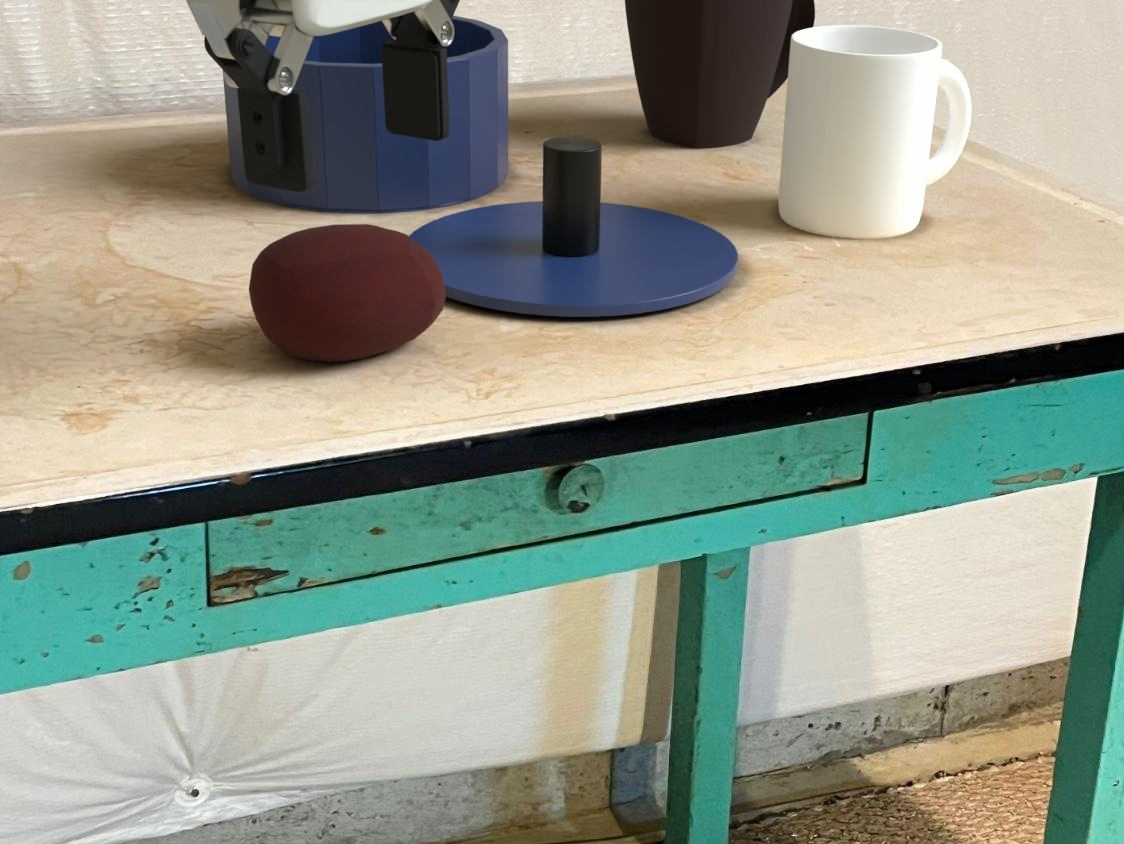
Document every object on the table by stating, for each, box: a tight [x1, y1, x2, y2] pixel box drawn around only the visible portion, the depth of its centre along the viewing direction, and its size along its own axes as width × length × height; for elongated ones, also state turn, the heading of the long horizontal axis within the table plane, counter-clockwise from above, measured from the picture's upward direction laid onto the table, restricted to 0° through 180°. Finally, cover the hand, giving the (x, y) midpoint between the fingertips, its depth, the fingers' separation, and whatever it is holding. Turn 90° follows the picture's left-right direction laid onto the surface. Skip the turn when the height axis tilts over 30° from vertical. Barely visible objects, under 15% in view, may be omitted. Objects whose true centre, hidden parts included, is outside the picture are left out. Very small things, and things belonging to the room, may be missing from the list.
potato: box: [248, 223, 447, 363], centre depth 77 cm, size 8×9×6 cm
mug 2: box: [778, 24, 972, 240], centre depth 97 cm, size 12×8×10 cm
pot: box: [222, 15, 509, 215], centre depth 102 cm, size 17×17×8 cm
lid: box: [408, 135, 739, 318], centre depth 88 cm, size 18×18×7 cm
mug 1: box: [624, 0, 816, 150], centre depth 112 cm, size 10×14×12 cm
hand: (352, 159), depth 74 cm, fingers open, 9 cm apart
